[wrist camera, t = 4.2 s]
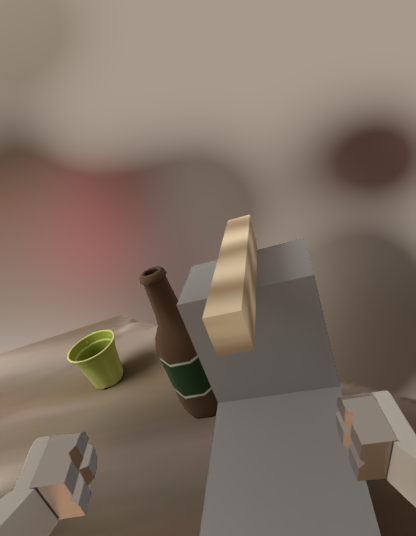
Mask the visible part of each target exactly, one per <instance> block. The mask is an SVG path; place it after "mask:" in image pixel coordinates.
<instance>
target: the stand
mask: <svg viewBox="0 0 416 536" xmlns="http://www.w3.org/2000/svg"><path fill="white" fill-rule="evenodd" d="M216 264H217V260H215V261H211V262H207V263H203V264H199V265H195V266H192V268H191V271H190V273H189V276H188V278H187V281H186V283H185V285H184V288H183V290H182V293H181V296H180V298H179V300H178V303H177V308H178V310H179V312H180V315H181V317H182V320H183V322H184V324H185V327H186V329H187V331H188V334H189V336H190V338H191V341H192V343H193V345H194V348H195V350H196V353H197V355H198V357H199V360H200V362H201V364H202V367H203V369H204V371H205V374H206V376H207V378H208V381H209V383H210V386H211V388H212V390H213V393H214V395H215V397H216V400H217V402H218V406H217V413H216V420H215V427H214V434H213V441H212V449H211V456H210V463H209V470H208V477H207V484H206V491H205V498H204V506H203V513H202V520H201V527H200V534H199V536H381V534H380V530H379V526H378V523H377V519H376V515H375V512H374V508H373V504H372V501H371V497H370V493H369V490H368V486H367V483H366V480H365V481H357V479H356V476H355V474H354V471H353V469H352V466H351V464H350V462H349V449H347V448H346V447H345V446H344V445H343V444H342V441H341V439H340V436H339V433H338V429H337V423H336V413H337V412H338V411H339V409H338V407H337V398H338V397H342V396H343V395H342V391H341V388H340V384H339V379H338V375H337V371H336V366H335V362H334V358H333V354H332V350H331V345H330V341H329V336H328V332H327V328H326V323H325V319H324V315H323V311H322V306H321V302H320V298H319V293H318V289H317V285H316V281H315V276H314V273H313V269H312V266H311V263H310V259H309V256H308V253H307V249H306V246H305V243H304V239H299V240H295V241H291V242H287V243H283V244H279V245H275V246H271V247H268V248H263V249H260V250H257V274H256V315H255V350H250V351H245V352H239V353H233V354H227V355H222V356H217V355H216V352H215V350H214V347H213V345H212V342H211V340H210V337H209V335H208V332H207V330H206V327H205V325H204V322H203V320H202V317H203V313H204V309H205V305H206V302H207V298H208V294H209V290H210V287H211V283H212V279H213V275H214V272H215V268H216Z"/></svg>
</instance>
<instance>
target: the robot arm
mask: <svg viewBox="0 0 416 536" xmlns="http://www.w3.org/2000/svg"><path fill="white" fill-rule="evenodd" d="M337 407H338V409H339V411H338V412H337V413H336V423H337V429H338V433H339V436H340V439H341V441H342V444H343V445H344V446H345V447H346V448H347V449H349V462H350V464H351V466H352V469H353V471H354V474H355V476H356V479H357V481H365V480H375V479H386V478H387V481H388V482H389V483H390V484H391V485H392V486H393V487H394V488H396V489H397V490H398V491H399V492H400V493H401V494H402V495H403V496H404V497H405V498H406V499H407V500H408V501H409V502H410V503H411V504H412V505H413V506H415V507H416V434H415V432H414V431H413V429H412V428H411V426H410V424H409V423H408V421H407V419H406V418H405V416H404V415H403V413H402V411H401V410H400V408H399V406H398V405H397V403H396V402H395V400H394V398H393V397H392V395H391V393H389V392H388V391H385V390H384V391H378V392H372V393H369V392H368V393H361V394H355V395H348V396H342V397H338V398H337ZM88 439H89V438H88V436H87V435H86V433H85V432H81V433H73V434H64V435H56V436H47V437H39V438H37V439H36V440H35V441H34V442H33V444H32V446H31V449H30V451H29V454H28V456H27V458H26V461H25V463H24V465H23V468H22V470H21V472H20V475H19V477H18V479H17V482H16V484H15V486H14V489H13V491H10V492H7V493H6V494H5V495H4V496H3V497H2V498H1V499H0V536H49V535H50V534H51V532H52V531H53V529H54V528H55V526H56V525H57V524H58V522H59V520H60V519H66V518H72V517H79V516H85V515H86V511H87V507H88V503H89V499H90V495H91V491H90V489H89V486H88V485H89V484H90V482H91V481H92V480H93V479H94V478H95V473H96V469H97V456H96V451H95V449H94V447H93V446H91V445H89V444H87V443H88Z"/></svg>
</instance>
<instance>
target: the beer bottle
mask: <svg viewBox="0 0 416 536" xmlns="http://www.w3.org/2000/svg"><path fill="white" fill-rule="evenodd" d="M165 275H166V271H165V270H164V269H163V268H162V267H159V266H157V267H153V268H149V269H148V270H146V271H144V272H143V273H142V274H141V276H140V283H141V284H143V285H144V287H145V289H146V292H147V295H148V297H149V300H150V302H151V305H152V308H153V310H154V313H155V316H156V320H157V324H158V328H157V333H156V337H155V340H156V349H157V352H158V355H159V357H160V360H161V362H162V364H163V366H164V368H165V370H166V372H167V374H168V376H169V378H170V380H171V382H172V385H173V387H174V389H175V391H176V393H177V395H178V397H179V399H180V401H181V403H182V405H183V406H184V408H185V409H186V410H187V411H188V412H189V413H190V414H191V415H193V416H194V417H195V418H203V417H209V416H214V415H215V414H216V413H217V406H218V402H217V400H216V397H215V395H214V393H213V390H212V388H211V386H210V383H209V381H208V378H207V376H206V374H205V371H204V369H203V367H202V364H201V362H200V360H199V357H198V355H197V353H196V350H195V348H194V345H193V343H192V341H191V338H190V336H189V334H188V331H187V329H186V327H185V324H184V322H183V320H182V317H181V315H180V312H179V310H178V308H177V303H178V300H177V298H176V296H175V294H174V292H173V290H172V288H171V286H170V284H169V282H168V280H167V278H166V276H165Z"/></svg>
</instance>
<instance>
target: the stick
mask: <svg viewBox="0 0 416 536" xmlns="http://www.w3.org/2000/svg"><path fill="white" fill-rule="evenodd" d="M256 274H257V237H256V233H255V230H254V226H253V223H252V219H251V216H250V215H247V216H243V217H239V218H236V219H232V220H229V221H228V223H227V227H226V230H225V234H224V238H223V241H222V245H221V249H220V253H219V256H218V260H217V264H216V268H215V272H214V275H213V279H212V283H211V287H210V290H209V294H208V298H207V302H206V305H205V309H204V313H203V317H202V320H203V322H204V325H205V327H206V330H207V332H208V335H209V337H210V340H211V342H212V345H213V347H214V350H215V352H216V355H217V356H222V355H227V354H233V353H239V352H245V351H250V350H255V315H256Z"/></svg>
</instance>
